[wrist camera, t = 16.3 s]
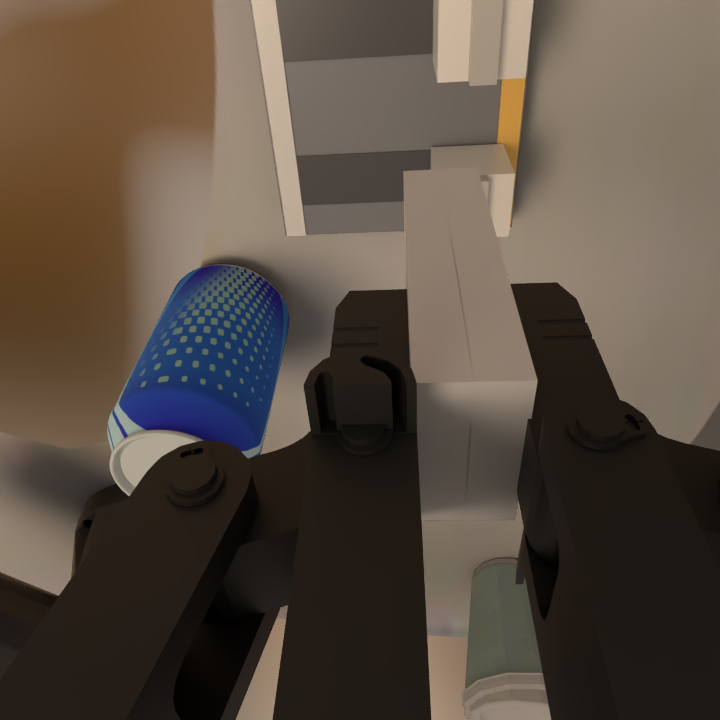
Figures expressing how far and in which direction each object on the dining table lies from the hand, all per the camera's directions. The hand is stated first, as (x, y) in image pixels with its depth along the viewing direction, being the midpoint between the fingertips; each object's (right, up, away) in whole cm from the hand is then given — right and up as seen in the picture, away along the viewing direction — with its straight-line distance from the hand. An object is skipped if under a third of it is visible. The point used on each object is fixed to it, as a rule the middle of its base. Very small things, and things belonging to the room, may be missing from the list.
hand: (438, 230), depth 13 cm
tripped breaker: (+4, +14, +17) cm, 22 cm away
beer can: (-11, +1, +31) cm, 33 cm away
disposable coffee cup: (+13, -25, +52) cm, 59 cm away
